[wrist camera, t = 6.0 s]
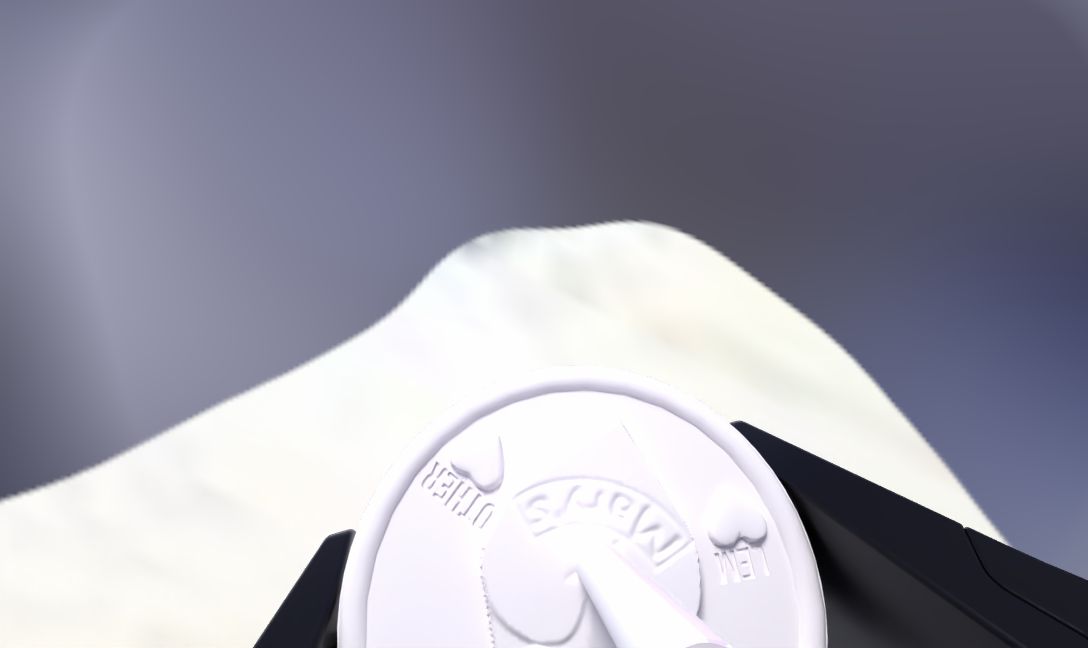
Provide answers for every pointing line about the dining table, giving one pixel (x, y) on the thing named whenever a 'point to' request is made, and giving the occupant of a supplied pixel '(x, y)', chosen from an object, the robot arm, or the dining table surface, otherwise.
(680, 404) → the smoothie
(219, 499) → the dining table surface
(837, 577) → the robot arm
